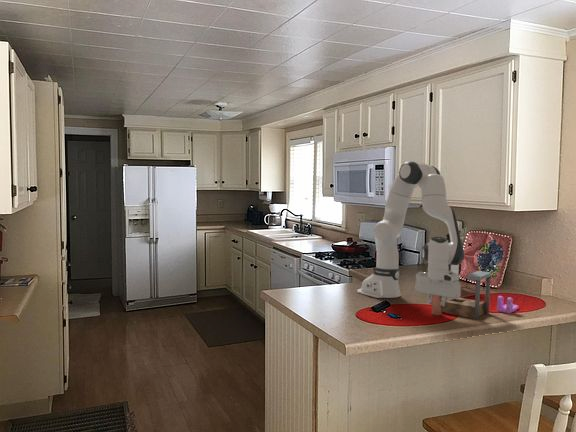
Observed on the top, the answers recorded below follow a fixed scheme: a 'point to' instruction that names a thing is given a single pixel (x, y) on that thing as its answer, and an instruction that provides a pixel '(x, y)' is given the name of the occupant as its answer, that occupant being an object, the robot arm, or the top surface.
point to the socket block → (462, 307)
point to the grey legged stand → (479, 276)
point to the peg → (436, 304)
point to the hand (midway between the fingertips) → (436, 305)
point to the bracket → (508, 307)
